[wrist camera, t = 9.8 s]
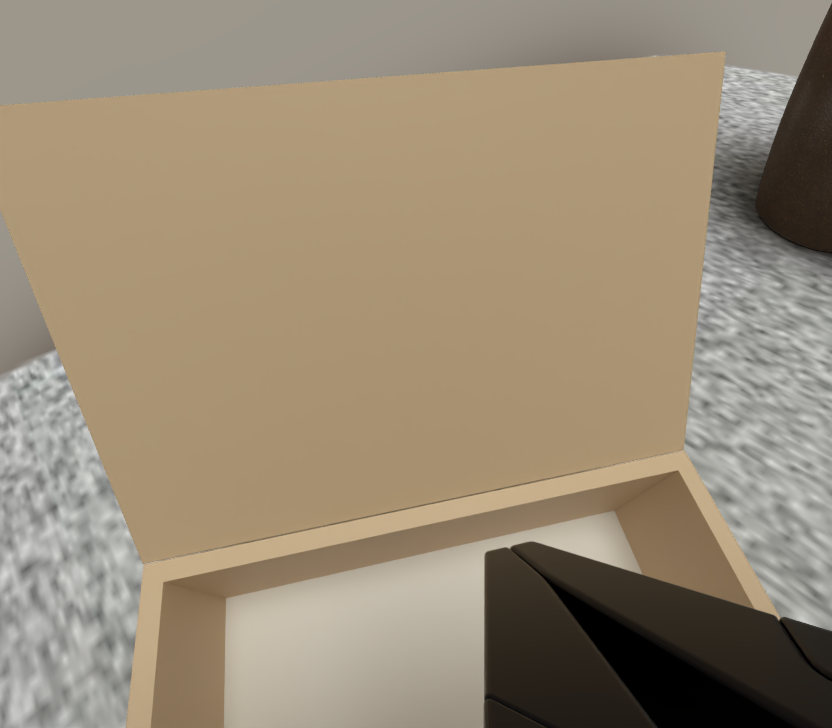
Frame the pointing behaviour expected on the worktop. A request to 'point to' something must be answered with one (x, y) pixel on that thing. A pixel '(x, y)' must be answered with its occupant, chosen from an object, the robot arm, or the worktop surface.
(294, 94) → the mailer lid
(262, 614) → the mailer box
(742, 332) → the worktop surface
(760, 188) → the plant pot
